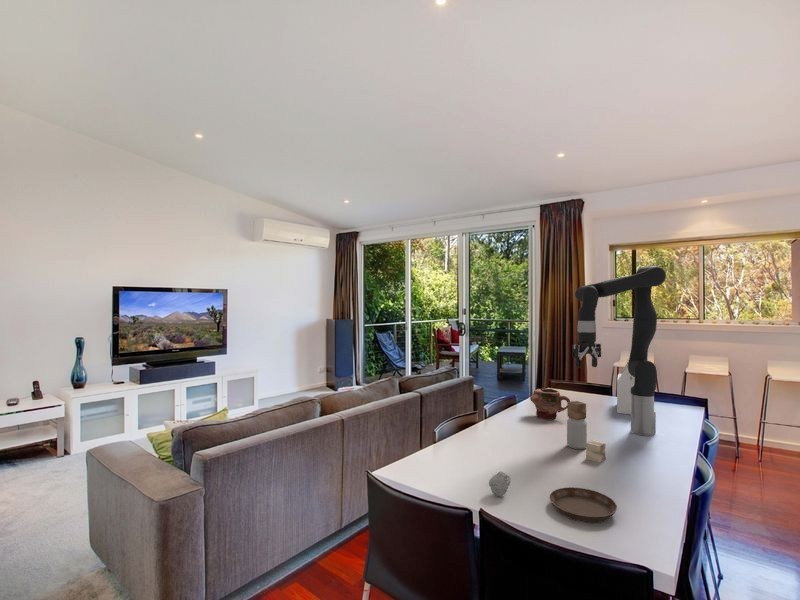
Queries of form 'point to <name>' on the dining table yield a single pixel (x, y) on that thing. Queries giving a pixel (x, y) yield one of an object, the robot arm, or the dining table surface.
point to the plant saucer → (583, 504)
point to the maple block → (595, 451)
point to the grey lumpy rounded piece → (500, 483)
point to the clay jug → (548, 403)
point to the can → (576, 433)
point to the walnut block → (576, 410)
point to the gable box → (624, 390)
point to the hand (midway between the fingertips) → (586, 367)
